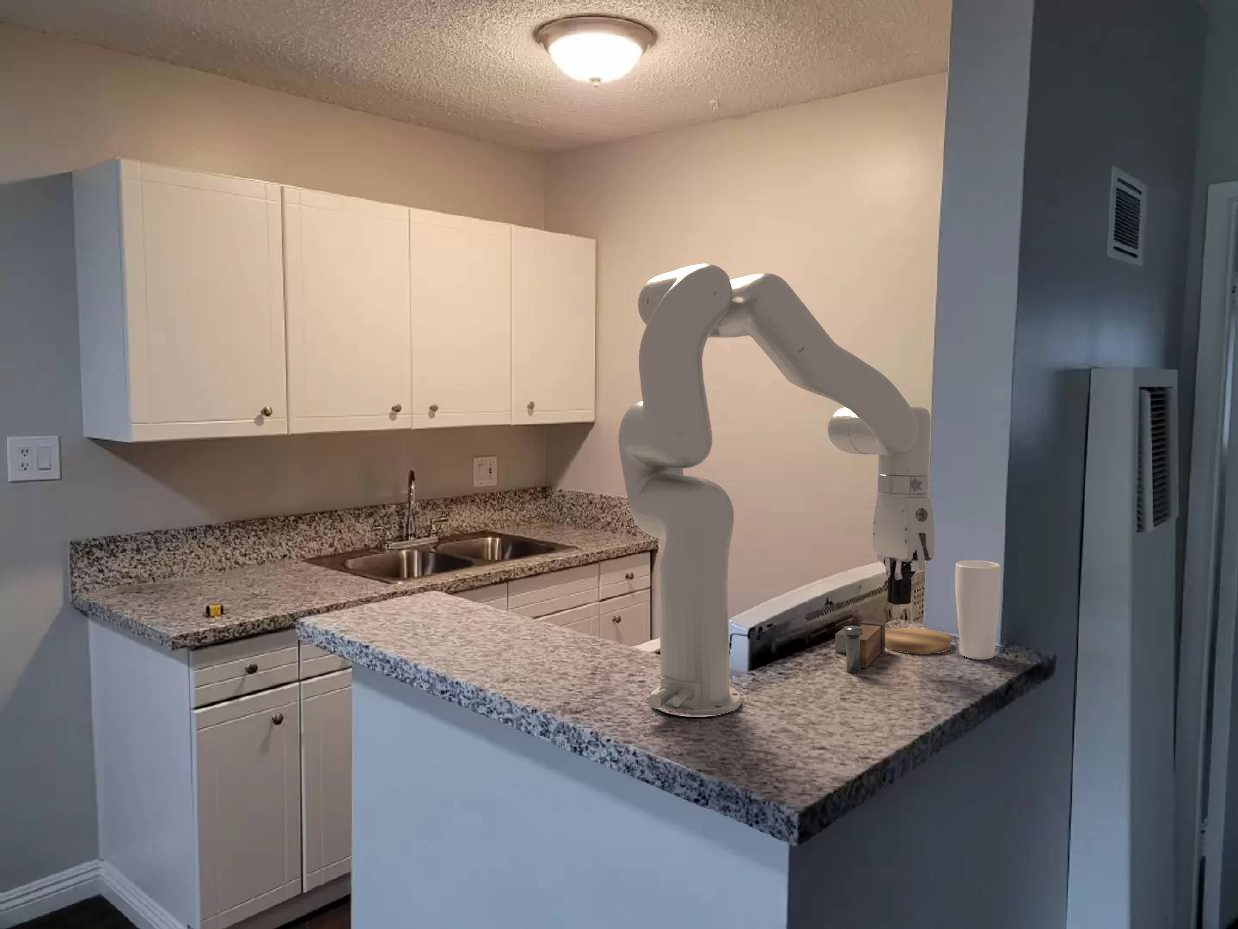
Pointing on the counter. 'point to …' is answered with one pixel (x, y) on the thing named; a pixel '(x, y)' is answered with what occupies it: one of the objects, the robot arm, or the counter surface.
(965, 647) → the drinking glass
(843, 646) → the stop block
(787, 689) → the counter surface
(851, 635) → the pivot pin
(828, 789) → the counter surface
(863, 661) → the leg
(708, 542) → the robot arm
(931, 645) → the wooden coaster
